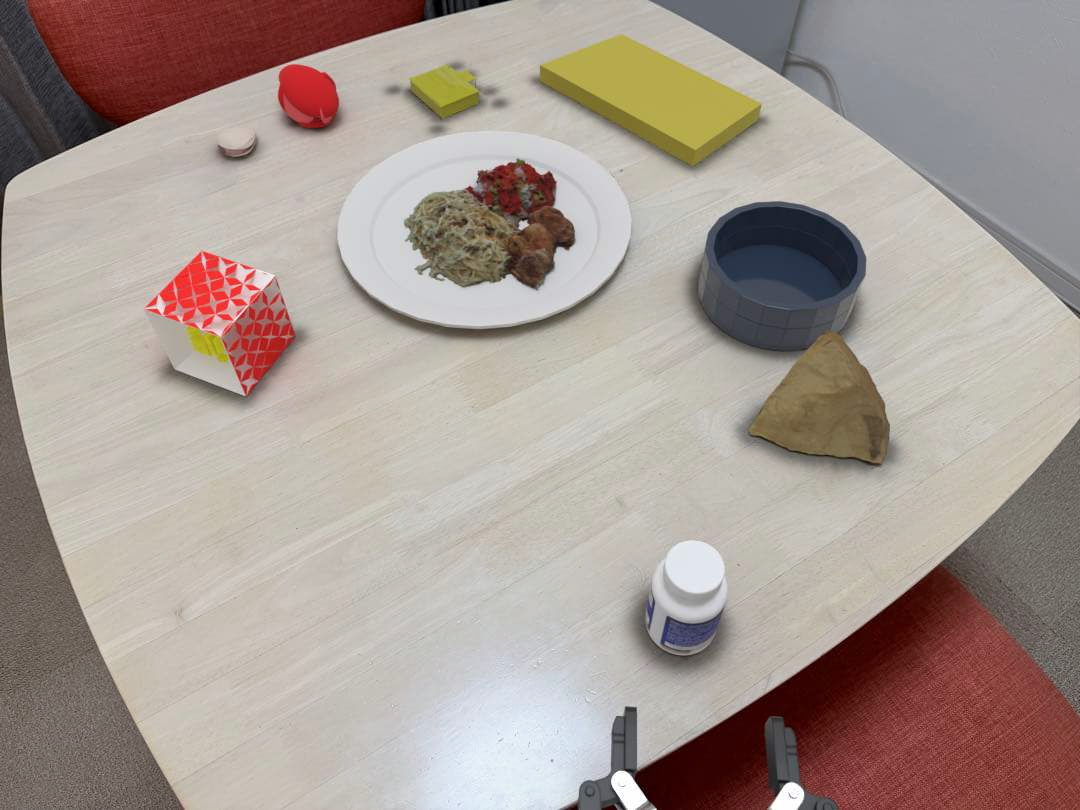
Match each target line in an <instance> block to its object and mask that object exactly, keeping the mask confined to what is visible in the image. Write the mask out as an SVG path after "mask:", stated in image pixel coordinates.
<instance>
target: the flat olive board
mask: <svg viewBox="0 0 1080 810" xmlns="http://www.w3.org/2000/svg"><path fill="white" fill-rule="evenodd" d="M539 82H541V83H542V84H544V85H545V86H548V87H549V88H551V89H553V90H554V91H557V92H558V93H560V94H562V95H564V96H566V97H567V98H570V99H571V100H573V101H575V102H576V103H577V104H580V105H582V106H583V107H585V108H587V109H588V110H591V111H593V112H594V113H596V114H598V115H600V116H602V117H603V118H604V119H607V120H609V121H611V122H612V123H614V124H616V125H618V126H619V127H621V128H623V129H625V130H627V131H629V132H630V133H632V134H633V135H635V136H637V137H639V138H641V139H642V140H644V141H646V142H648V143H650V144H652V145H654V146H655V147H657V148H658V149H660V150H662V151H664V152H666V153H668V154H669V155H670V156H671V155H672V156H673V157H675V158H677V159H678V160H681V161H682V162H684V163H686V164H688V165H689V166H691V167H694V166H696V165H697V164H699V163H700V162H702V161H703V160H704V159H706V158H707V157H708V156H710V155H711V154H712V153H713V154H714V152H716V151H717V150H719V149H720V148H722V147H723V146H724V145H726V144H727V143H728V142H730V141H731V140H732V139H734V138H735V137H737V136H738V135H740V134H741V133H742V132H744V131H746V130H747V129H748V128H749V127H751V126H752V125H753V124H755V123H756V122H758V121H759V118H760V115H761V110H762V105H763V103H761V102H760V101H758V100H755V99H754V98H751V97H749V96H747V95H745V94H744V93H741V92H739V91H737V90H735V89H733V88H731V87H729V86H727V85H725V84H723V83H721V82H719V81H717V80H715V79H713V78H711V77H709V76H707V75H705V74H703V73H701V72H699V71H697V70H695V69H693V68H691V67H689V66H687V65H685V64H684V63H681V62H679V61H677V60H675V59H672V58H671V57H669V56H667V55H665V54H663V53H661V52H659V51H657V50H655V49H653V48H651V47H649V46H646V45H645V44H643V43H641V42H639V41H637V40H635V39H632V38H631V37H628V36H626V35H625V34H622V33H620V34H618V35H614V36H612V37H610V38H607V39H605V40H602V41H599V42H596V43H594V44H591V45H589V46H586V47H583V48H581V49H578V50H576V51H572V52H570V53H568V54H565V55H562V56H560V57H557V58H554V59H552V60H549V61H547V62H544V63H541V64H539Z"/></svg>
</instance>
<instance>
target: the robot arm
mask: <svg viewBox="0 0 1080 810" xmlns="http://www.w3.org/2000/svg"><path fill="white" fill-rule="evenodd" d="M637 707H638V706H630V705H629V706H627V705H625V706H624V708H623V714H622V715H616V716H615V718H614V720H613V723H612V727H611V734H610V737H611V738H610V740H611V741H610V772H609V773H608V774H607V775H606V776H604V777H602V778H599V779H595V780H591V779H587V780H585V781H583V782H582V783H581V784H580V786H579V789H578V797H577V810H602V809H604V808H608V807H611V806H615V808H616V809H617V810H658V809H657V807H656V806H655V805H654V804H653V803H652V802H650V801H649V800H648V798H647V797H646V796H645V794H644V792H643V791H642V790H641V788H640V787H639V786H638V784H637V783H636V781H635V778H636V775H637V771H638V708H637ZM764 740H765V741H764V742H765V750H766V753H765V754H766V764H767V765H766V766H767V774H768V775H767V777H768V787H769V788H768V789H769V792H774V798H773V800H772V802H771V803H770V805H769V806H768V808H767V809H766V810H840V808H839V805H838V804H837V802H836V801H835V800H834V799H833V798H831V797H828V796H823V797H821V796H819V795H816V794H814V793H812V792H810V791H809V790H807V789H806V788H805V787H804V785H803V783H802V781H801V773H800V763H799V754H798V743H797V736H796V734H795V732H794V730H793V728H792V727H785V721H784V717H783V716H774V715H773V716H771V715H770V716H769V717H768V719H767V720H766V721H765V724H764Z"/></svg>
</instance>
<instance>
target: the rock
mask: <svg viewBox="0 0 1080 810" xmlns="http://www.w3.org/2000/svg"><path fill="white" fill-rule="evenodd" d="M890 432H891V424H890V421H889V420H888V417H887V412H886V402H885V400H884V399H883V397H882V396H881V395H880V393H879V391H878V389H877V386H876V383H875V382H874V381H873V378H872V376H871V374H870V372H869V370H868V369H867V367H865V365H863V364H862V363H860V361H859V358H858V357H857V356H856V354H855V353H854V352H853V350H852V349H851V348H850V347H849V345H848V344H847V343H846V342H845V340H844V339H843V336H841V335H839V333H837V334H836V333H835V332H833V331H832V330H828V331H825V332H823V333H822V334H821V335H820V336H819V337H818V338H817V339H816V341H815V342H814V343H813V344H812V345H811V346H810V347H809V348H807V349H805V351H804V352H803V354H802V355H801V357H799V358H798V359H797V361H796V362H795V363H794V364H793V365H792V367H791V368H790V369H789V371H788V372H787V374H786V375H785V376H784V378H782V380H780V383H779V384H778V385H777V386H776V387H775V388H774V390H773V391H772V392H771V393H770V394H769V396H768V397H767V399H766V400H765V402H764V403H763V405H762V407H761V409H760V410H759V413H758V414H757V415H756V417H755V418H754V421H753V422H752V424H751V425H750V427H749V428H748V433H749V435H750V436H757V437H762V438H764V439H766V440H768V441H770V442H773V443H775V444H776V445H778V446H781V447H783V448H786V449H787V450H788V451H792V452H793V451H795V452H801V453H806V454H808V455H818V456H825V455H827V456H834V457H836V458H856V459H859V460H862V461H867V462H869V463H872V464H884V461H885V457H886V455H887V451H888V445H889V443H890V442H889V441H890Z"/></svg>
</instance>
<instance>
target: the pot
mask: <svg viewBox="0 0 1080 810" xmlns="http://www.w3.org/2000/svg"><path fill="white" fill-rule="evenodd" d="M706 236H707V237H706V241H705V246H704V251H703V256H702V260H701V261H702V262H701V266H700V272H699V278H698V283H697V291H698V298H699V302H700V304H701V306H702V309H703V311H704V312H705V314H706V316H707V317H708V318H709V319H710V320H711V322H712V323H713V324H714V325H716V327H717V328H719V329H720V330H721V331H723V332H724V333H725V334H727V335H728V336H730V337H732V338H734V339H735V340H737V341H740V342H742V343H744V344H747V345H750V346H752V347H756V348H760V349H764V350H770V351H780V352H782V351H783V352H788V351H789V352H791V351H800V350H807V349H808V348H809V347H810V346H811V345H812V344H813V343H814V342H815V341H816V339H817V338H818V337H819V336H820V335H821V334H822V333H823V332H825V331H828V330H832V331H833V332H835V333H836V334H839V332H840V331H841V330H842V329H843V328H844V326H845V325H846V323H847V321H848V319H849V316H850V315H851V313H852V312H853V310H854V309H853V308H854V306H855V304H856V301H857V298H858V295H859V293H860V291H861V288H862V286H863V284H864V280H865V278H866V275H867V256H866V253H865V251H864V247H863V246H862V243H861V241H860V240H859V239H858V237H857V236H856V235H855V234H854V233H853V232H852V231H851V230H850V228H848V226H846V224H844V223H842V222H841V221H840V220H838V219H836V218H835V217H833V216H831V214H828V213H826V212H825V211H821V210H818V209H817V208H813V207H810V206H808V205H805V204H802V203H795V202H790V201H789V202H788V201H782V200H776V201H775V200H774V201H772V200H771V201H756V202H752V203H748V204H745V205H741V206H737V207H735V208H733V209H731V210H730V211H728V212H726V213H725V214H723V215H721V216H720V217H719V218H718V219H717V220H716V221H715V223H714V224H713V226H712V227H711V228H709V231H708V232H707V235H706Z"/></svg>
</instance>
